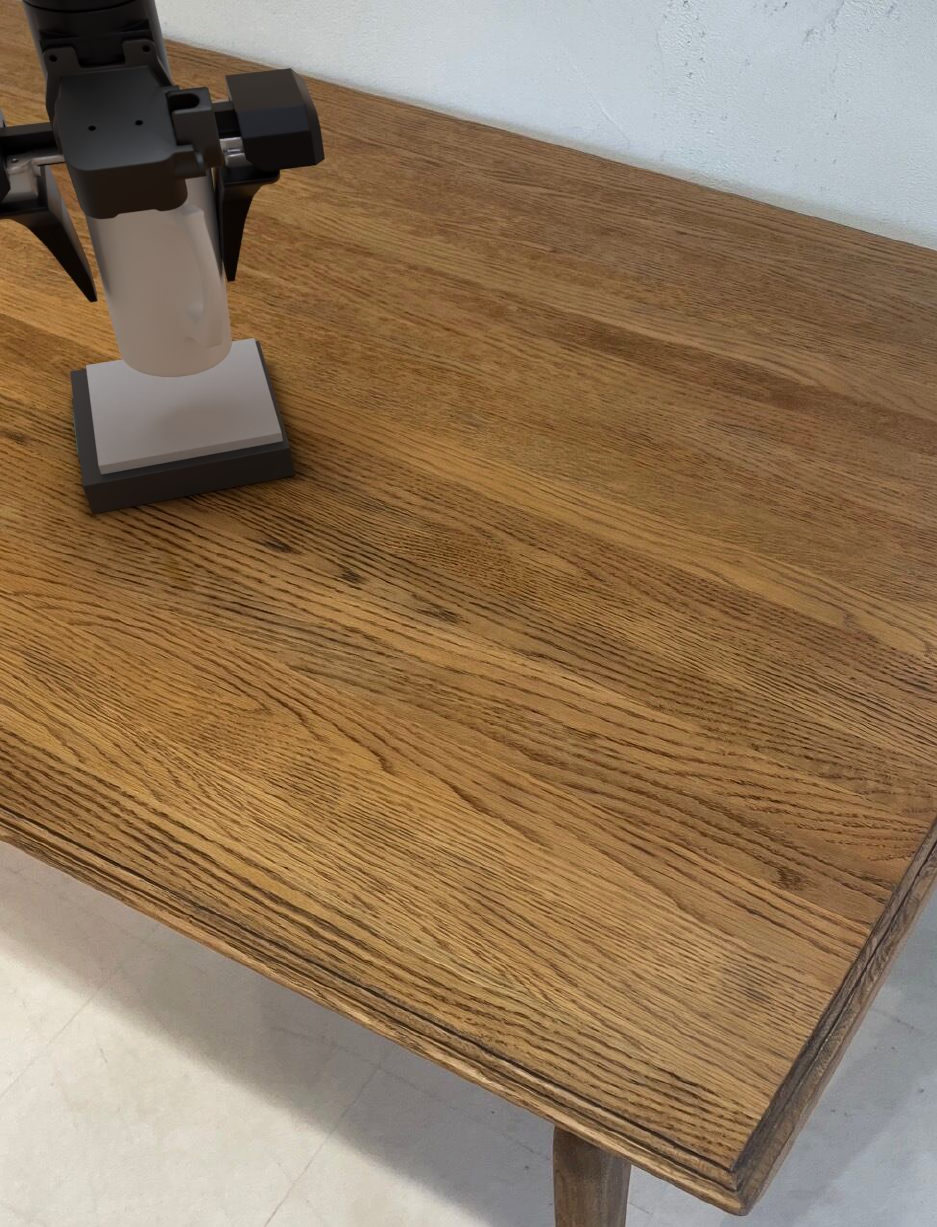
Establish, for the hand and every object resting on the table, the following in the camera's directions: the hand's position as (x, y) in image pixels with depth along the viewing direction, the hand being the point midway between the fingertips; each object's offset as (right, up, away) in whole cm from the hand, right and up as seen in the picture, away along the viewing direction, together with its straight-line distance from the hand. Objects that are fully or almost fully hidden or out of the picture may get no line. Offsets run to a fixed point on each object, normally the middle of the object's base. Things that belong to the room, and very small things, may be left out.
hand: (162, 288), depth 70 cm
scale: (-3, -6, +12) cm, 14 cm away
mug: (0, -3, +4) cm, 5 cm away
